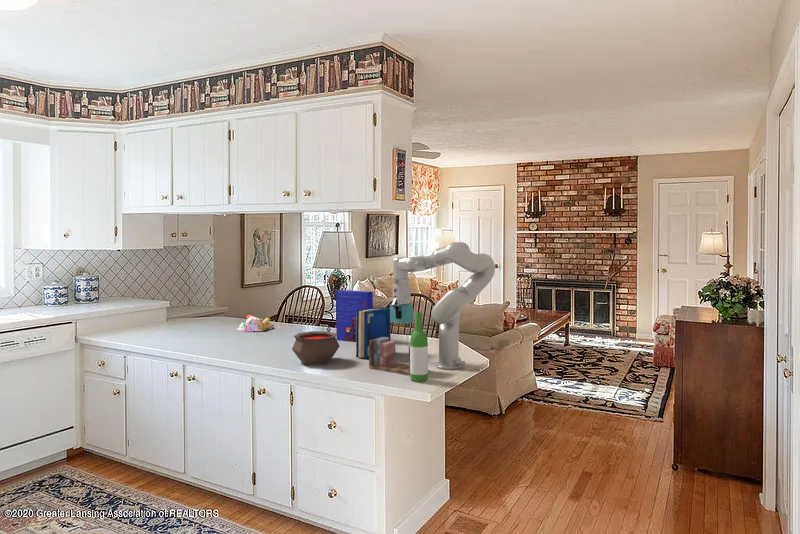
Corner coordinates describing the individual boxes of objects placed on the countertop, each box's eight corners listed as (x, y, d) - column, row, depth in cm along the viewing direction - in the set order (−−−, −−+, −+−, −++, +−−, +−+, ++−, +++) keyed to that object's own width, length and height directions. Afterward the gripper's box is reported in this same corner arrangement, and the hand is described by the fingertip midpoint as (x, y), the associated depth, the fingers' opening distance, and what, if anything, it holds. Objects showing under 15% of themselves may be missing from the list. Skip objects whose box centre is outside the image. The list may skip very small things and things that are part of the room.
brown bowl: (312, 354, 301) (312, 324, 300) (349, 359, 289) (349, 327, 288) (281, 363, 281) (281, 331, 279) (320, 369, 268) (319, 335, 267)
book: (382, 350, 309) (382, 305, 307) (392, 352, 304) (392, 306, 303) (355, 358, 292) (354, 310, 290) (365, 359, 288) (365, 311, 286)
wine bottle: (429, 378, 252) (429, 311, 250) (426, 383, 244) (426, 314, 242) (412, 377, 253) (411, 311, 251) (408, 382, 246) (408, 313, 244)
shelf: (425, 370, 266) (424, 341, 265) (411, 375, 257) (410, 345, 256) (384, 363, 280) (383, 335, 279) (369, 368, 270) (368, 339, 269)
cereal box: (373, 341, 335) (372, 291, 332) (368, 343, 329) (367, 292, 327) (341, 338, 344) (341, 289, 342) (336, 340, 339) (335, 290, 337)
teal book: (413, 322, 283) (412, 304, 282) (407, 323, 279) (407, 305, 278) (395, 320, 289) (395, 303, 289) (390, 322, 285) (389, 304, 285)
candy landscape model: (279, 327, 387) (279, 313, 386) (264, 333, 364) (263, 319, 364) (246, 325, 393) (246, 312, 392) (228, 332, 370) (228, 318, 369)
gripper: (397, 283, 274) (397, 320, 275) (416, 280, 287) (417, 316, 289) (384, 282, 278) (385, 319, 279) (404, 280, 292) (405, 315, 293)
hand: (401, 317), depth 284 cm, fingers closed on teal book, 4 cm apart
